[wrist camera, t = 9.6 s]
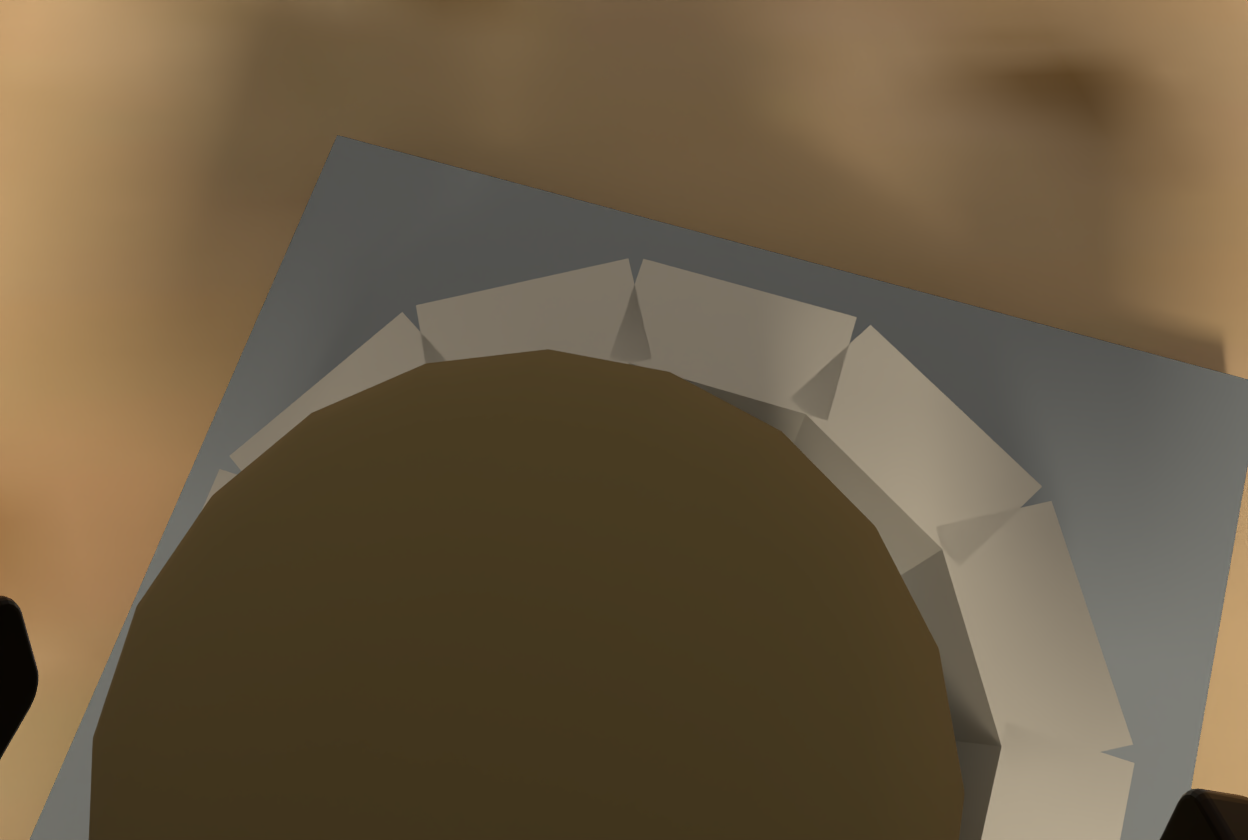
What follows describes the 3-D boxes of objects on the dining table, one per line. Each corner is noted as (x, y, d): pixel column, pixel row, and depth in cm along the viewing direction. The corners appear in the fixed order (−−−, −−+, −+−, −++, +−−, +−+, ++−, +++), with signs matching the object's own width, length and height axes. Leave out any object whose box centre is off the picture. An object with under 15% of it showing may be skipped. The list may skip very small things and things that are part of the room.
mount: (1023, 1527, 14) (1159, 1853, 10) (-38, 1075, 16) (-272, 1195, 12) (1229, 401, 17) (1385, 313, 13) (354, 163, 19) (273, 29, 16)
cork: (598, 453, 17) (437, 8, 6) (910, 700, 15) (1400, 681, 5) (343, 758, 16) (-388, 863, 5) (655, 1051, 14) (554, 2018, 4)
